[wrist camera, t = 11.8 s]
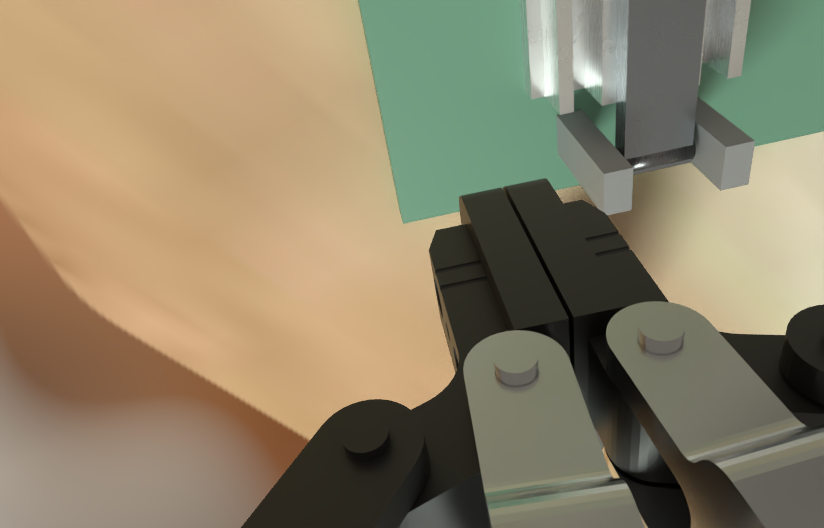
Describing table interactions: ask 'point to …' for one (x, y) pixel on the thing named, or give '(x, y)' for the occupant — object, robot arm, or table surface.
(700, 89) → the board
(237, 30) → the table surface
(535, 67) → the white slotted block
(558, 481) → the robot arm
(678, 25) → the thin grey panel
